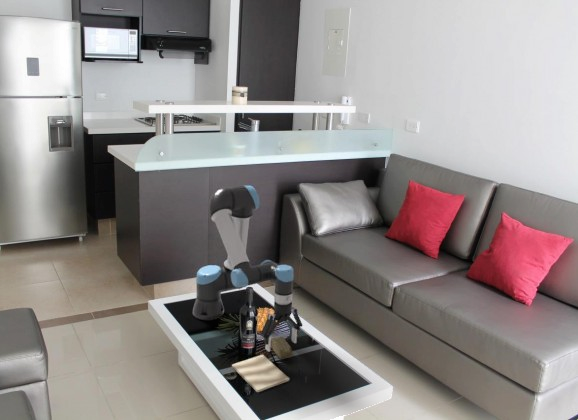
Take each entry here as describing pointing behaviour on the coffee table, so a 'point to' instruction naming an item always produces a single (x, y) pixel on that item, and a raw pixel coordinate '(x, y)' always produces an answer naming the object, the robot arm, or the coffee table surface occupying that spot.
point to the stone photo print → (260, 373)
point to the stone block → (281, 347)
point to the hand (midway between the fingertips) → (281, 346)
